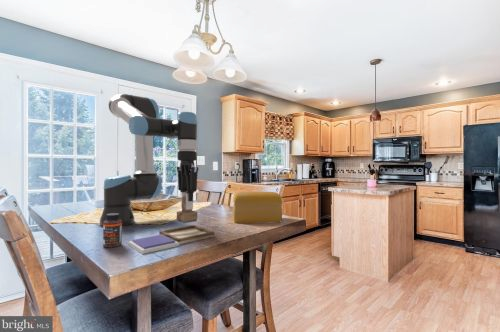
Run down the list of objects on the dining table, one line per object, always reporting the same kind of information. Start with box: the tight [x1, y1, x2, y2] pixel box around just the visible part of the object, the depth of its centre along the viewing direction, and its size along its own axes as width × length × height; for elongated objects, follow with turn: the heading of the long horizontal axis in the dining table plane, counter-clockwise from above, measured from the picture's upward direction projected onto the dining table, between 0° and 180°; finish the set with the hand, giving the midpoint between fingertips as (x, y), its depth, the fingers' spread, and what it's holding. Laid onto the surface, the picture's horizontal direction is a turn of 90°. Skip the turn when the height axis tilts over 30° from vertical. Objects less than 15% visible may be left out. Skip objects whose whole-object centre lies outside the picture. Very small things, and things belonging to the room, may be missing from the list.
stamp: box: [176, 197, 198, 224], centre depth 106 cm, size 6×6×10 cm
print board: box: [158, 224, 215, 245], centre depth 106 cm, size 16×16×2 cm
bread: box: [232, 191, 283, 224], centre depth 137 cm, size 24×13×15 cm, turn 97°
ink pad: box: [127, 234, 180, 255], centre depth 94 cm, size 13×13×2 cm
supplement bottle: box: [102, 213, 123, 249], centre depth 93 cm, size 6×6×11 cm
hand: (187, 208), depth 106 cm, fingers closed on stamp, 3 cm apart
